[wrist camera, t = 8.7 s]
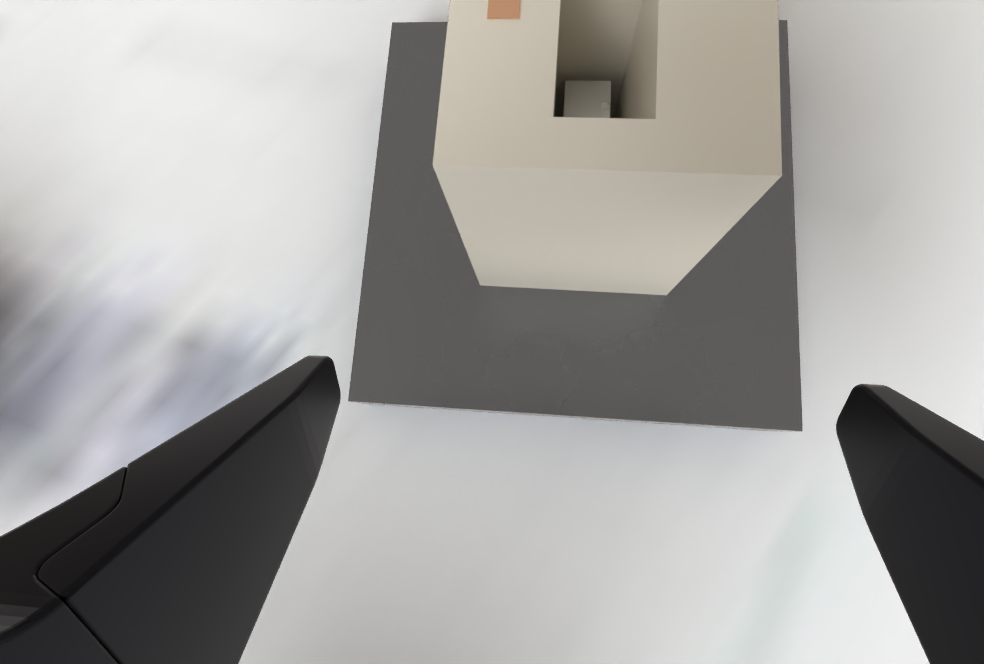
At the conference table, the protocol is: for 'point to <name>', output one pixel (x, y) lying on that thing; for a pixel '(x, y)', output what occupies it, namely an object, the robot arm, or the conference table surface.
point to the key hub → (566, 296)
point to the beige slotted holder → (605, 136)
